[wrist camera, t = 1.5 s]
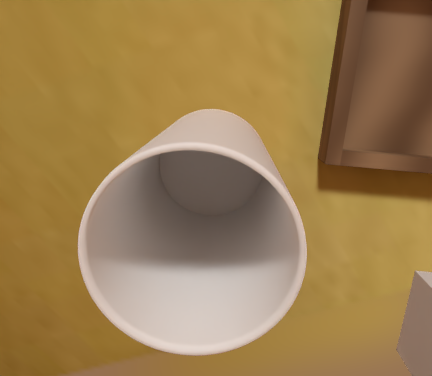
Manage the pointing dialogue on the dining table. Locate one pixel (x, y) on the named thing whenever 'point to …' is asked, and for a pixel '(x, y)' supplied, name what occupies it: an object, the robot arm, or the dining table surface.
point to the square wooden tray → (381, 87)
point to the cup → (194, 239)
